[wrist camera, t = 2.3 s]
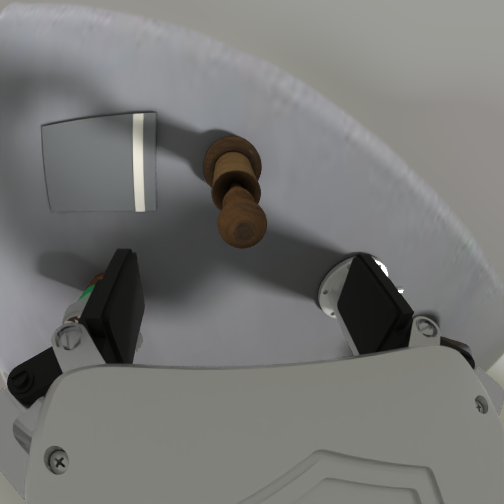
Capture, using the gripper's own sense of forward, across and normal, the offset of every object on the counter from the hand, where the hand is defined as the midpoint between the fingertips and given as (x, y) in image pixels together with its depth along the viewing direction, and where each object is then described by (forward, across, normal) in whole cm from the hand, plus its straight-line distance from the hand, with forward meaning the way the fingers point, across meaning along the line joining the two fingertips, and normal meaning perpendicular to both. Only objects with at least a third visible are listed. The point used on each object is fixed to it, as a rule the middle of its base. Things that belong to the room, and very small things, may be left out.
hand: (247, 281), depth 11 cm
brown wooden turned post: (+23, -1, 0) cm, 23 cm away
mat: (+23, +16, 0) cm, 28 cm away
